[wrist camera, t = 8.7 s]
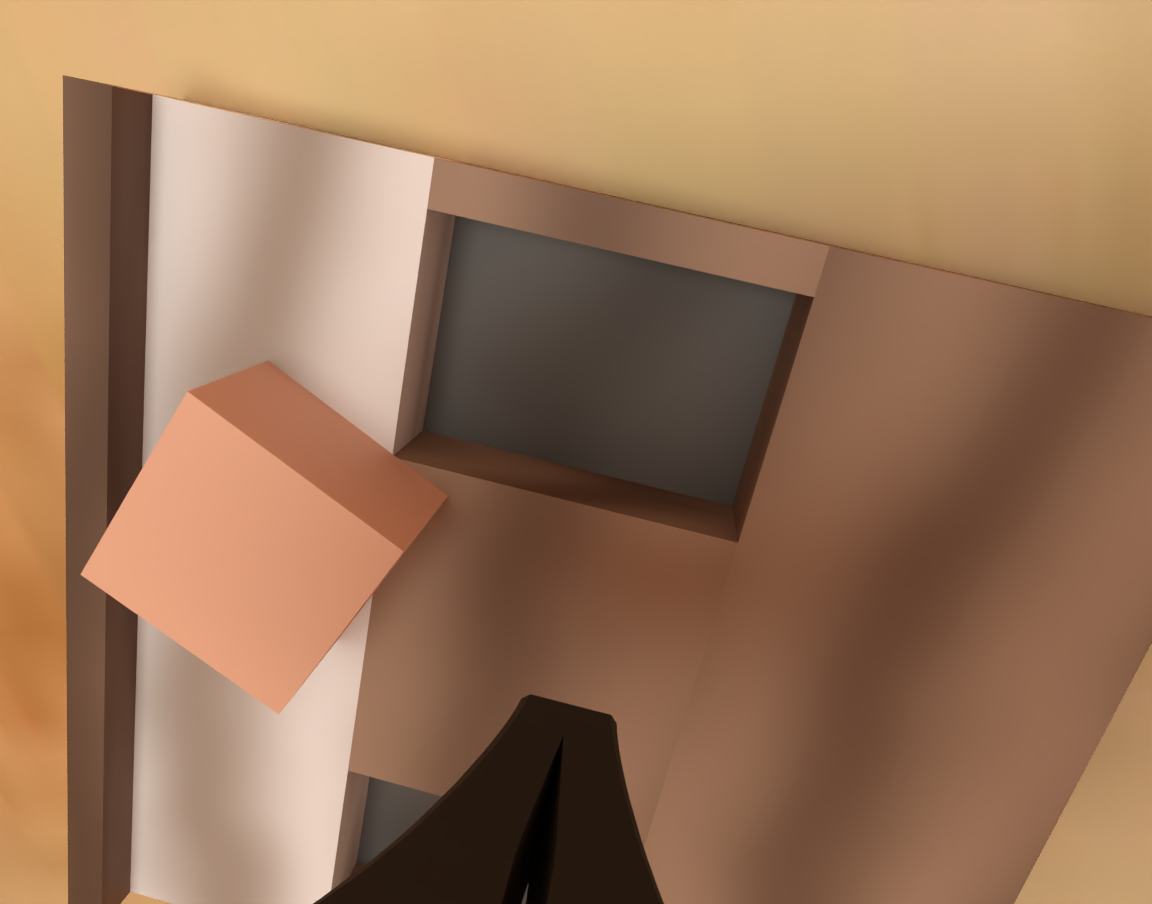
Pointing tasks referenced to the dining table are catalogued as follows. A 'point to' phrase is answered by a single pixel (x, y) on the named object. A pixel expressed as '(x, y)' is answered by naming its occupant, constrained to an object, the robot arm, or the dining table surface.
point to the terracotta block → (260, 529)
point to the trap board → (602, 521)
